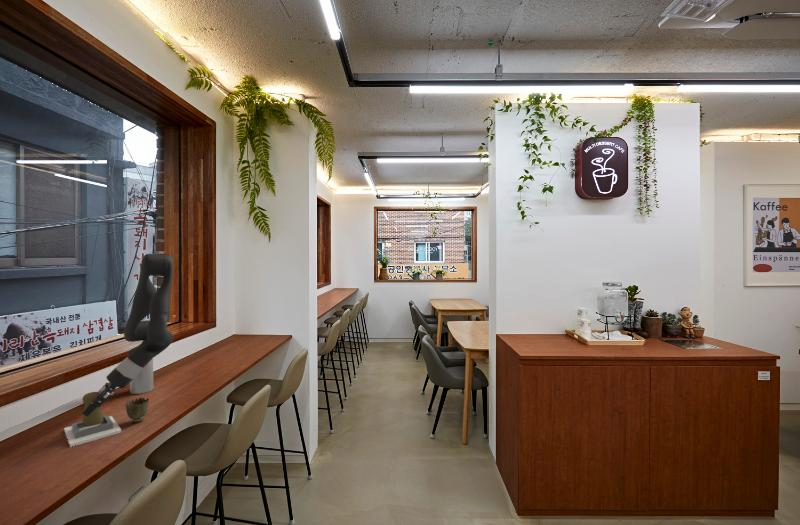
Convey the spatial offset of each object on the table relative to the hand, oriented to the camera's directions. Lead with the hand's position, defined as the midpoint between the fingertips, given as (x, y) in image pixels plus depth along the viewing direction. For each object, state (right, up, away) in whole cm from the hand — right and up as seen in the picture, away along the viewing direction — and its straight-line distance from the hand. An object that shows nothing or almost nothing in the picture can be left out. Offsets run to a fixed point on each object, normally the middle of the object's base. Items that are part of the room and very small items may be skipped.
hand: (85, 412), depth 135 cm
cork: (+2, -4, +1) cm, 5 cm away
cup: (+13, -7, +9) cm, 17 cm away
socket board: (+2, -7, +1) cm, 8 cm away
